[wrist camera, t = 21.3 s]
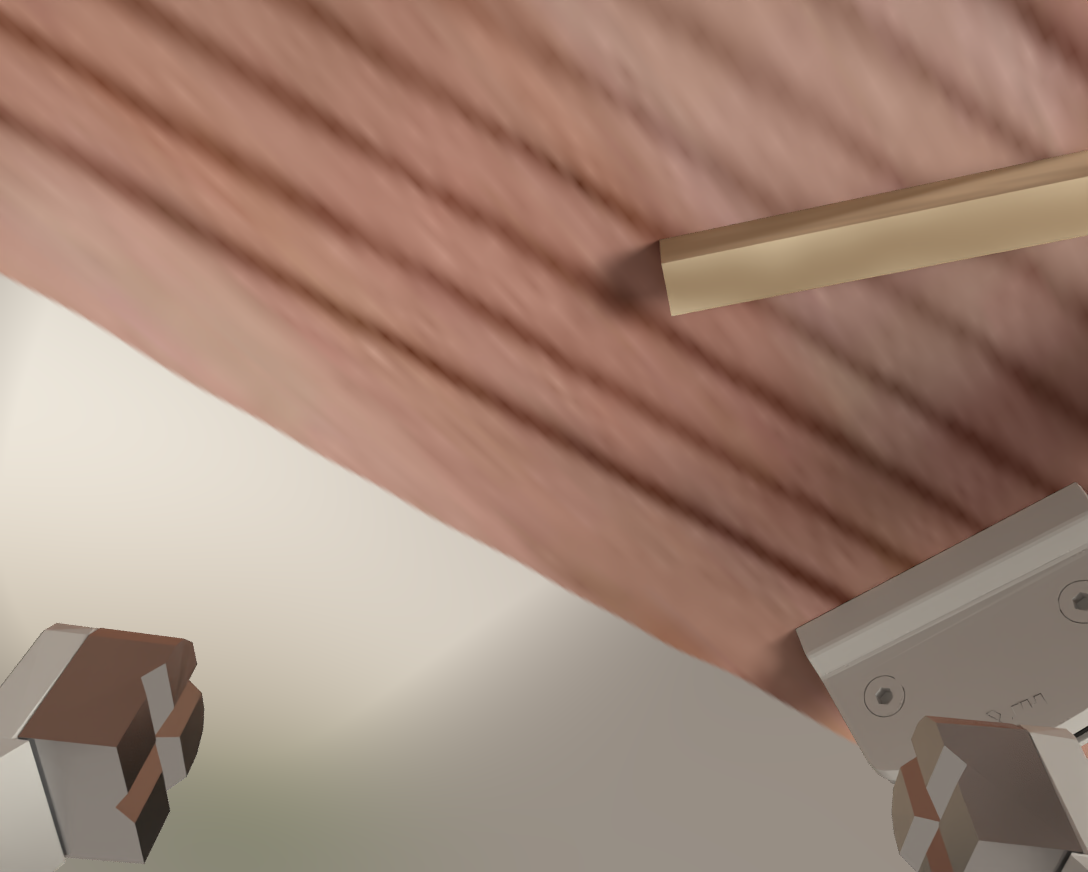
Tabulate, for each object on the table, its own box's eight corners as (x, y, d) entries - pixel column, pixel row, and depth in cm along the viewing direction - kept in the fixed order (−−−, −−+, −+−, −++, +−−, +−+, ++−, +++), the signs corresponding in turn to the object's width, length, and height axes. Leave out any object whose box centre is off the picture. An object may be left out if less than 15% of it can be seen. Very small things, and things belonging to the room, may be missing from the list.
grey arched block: (1083, 477, 47) (1213, 656, 40) (1109, 517, 50) (1234, 690, 43) (789, 632, 53) (856, 809, 46) (827, 659, 56) (896, 830, 49)
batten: (659, 237, 42) (661, 263, 40) (1124, 140, 39) (1161, 161, 36) (668, 287, 44) (671, 316, 41) (1120, 197, 40) (1157, 222, 37)
